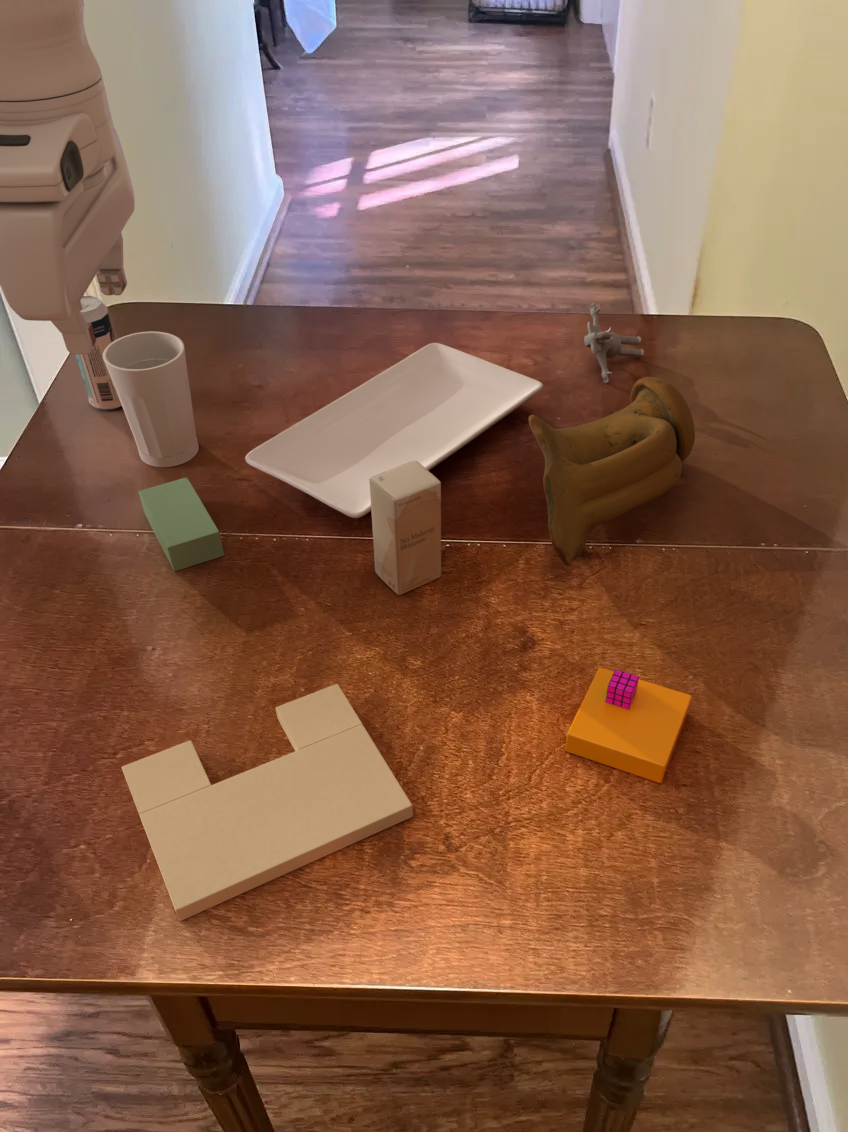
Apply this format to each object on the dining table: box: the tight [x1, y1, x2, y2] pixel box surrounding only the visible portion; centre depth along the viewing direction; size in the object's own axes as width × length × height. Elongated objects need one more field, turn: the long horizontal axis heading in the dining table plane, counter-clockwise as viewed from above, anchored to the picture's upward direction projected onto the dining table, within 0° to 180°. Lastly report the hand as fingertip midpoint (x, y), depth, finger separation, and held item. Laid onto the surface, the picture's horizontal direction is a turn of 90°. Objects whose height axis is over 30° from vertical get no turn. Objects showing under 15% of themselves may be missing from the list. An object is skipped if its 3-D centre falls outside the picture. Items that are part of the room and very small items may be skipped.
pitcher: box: [528, 376, 696, 567], centre depth 97 cm, size 18×13×22 cm
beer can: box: [74, 295, 122, 411], centre depth 110 cm, size 5×5×12 cm
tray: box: [244, 342, 544, 519], centre depth 108 cm, size 17×32×4 cm, turn 142°
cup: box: [103, 330, 200, 468], centre depth 103 cm, size 8×8×12 cm
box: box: [369, 460, 442, 596], centre depth 90 cm, size 5×4×11 cm
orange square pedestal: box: [564, 666, 693, 784], centre depth 79 cm, size 8×8×4 cm
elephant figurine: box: [583, 302, 645, 384], centre depth 120 cm, size 10×6×9 cm
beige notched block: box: [121, 683, 414, 922], centre depth 75 cm, size 18×14×2 cm
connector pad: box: [137, 476, 225, 572], centre depth 96 cm, size 10×5×3 cm, turn 29°
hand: (99, 319), depth 76 cm, fingers open, 8 cm apart
